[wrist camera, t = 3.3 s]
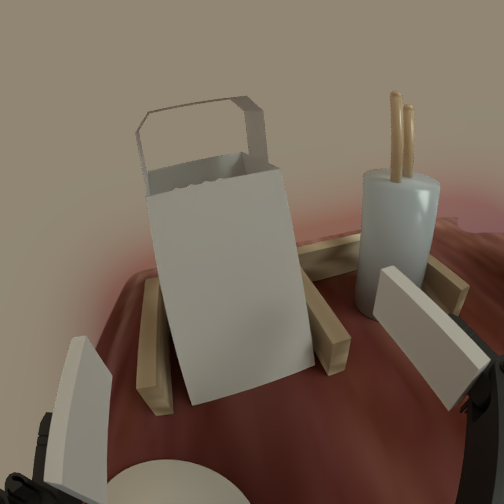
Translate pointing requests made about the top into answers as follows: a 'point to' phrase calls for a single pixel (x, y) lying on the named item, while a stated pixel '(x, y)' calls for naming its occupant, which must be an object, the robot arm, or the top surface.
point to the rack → (319, 313)
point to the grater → (229, 267)
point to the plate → (172, 485)
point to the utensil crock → (395, 213)
